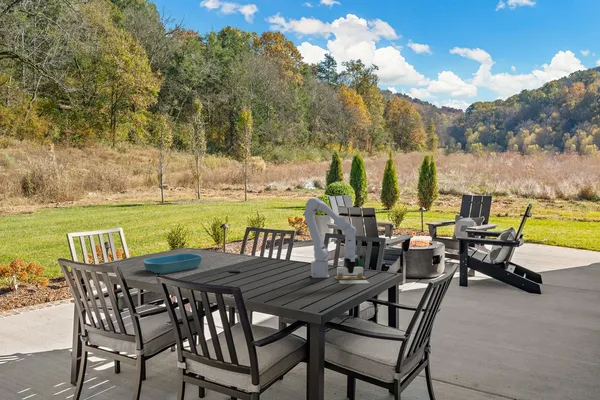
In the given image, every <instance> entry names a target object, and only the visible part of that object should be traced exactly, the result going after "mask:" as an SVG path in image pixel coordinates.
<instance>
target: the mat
mask: <svg viewBox="0 0 600 400" xmlns="http://www.w3.org/2000/svg"><path fill="white" fill-rule="evenodd" d="M338 282H339V284H340V285H362V284H363V285H365V284H366V285H369V284H370V282H369V281H368V280H367V279H342V280H338Z"/></svg>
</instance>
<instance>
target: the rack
mask: <svg viewBox="0 0 600 400" xmlns="http://www.w3.org/2000/svg"><path fill="white" fill-rule="evenodd" d="M334 278H335V280H366V277H365V276H364V273H363V274H359V275H343V274H339V275H337V276H334Z"/></svg>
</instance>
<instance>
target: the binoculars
mask: <svg viewBox="0 0 600 400" xmlns="http://www.w3.org/2000/svg"><path fill="white" fill-rule="evenodd" d="M363 256H364V255H363V254H361V255H359V257H356V258H355V261H357V262H356V264H355V266H354V267H363V274H364V273H365V268H366V264H365V259H364V257H363Z"/></svg>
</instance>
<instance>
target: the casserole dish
mask: <svg viewBox="0 0 600 400" xmlns="http://www.w3.org/2000/svg"><path fill="white" fill-rule="evenodd" d="M202 259H203V255H201V254H198V253H188V252H187V253H176V254H169V255H162V256H154V257H149V258H144V259H142V263H143V265H144V268H145V269H146V271H148V272H149V271H151V272H150V273H153V272H154V273H153V274H157V273H160V275H163V274H171V273H177V272H182V271H188V270H192V269H196V268H198V267H199V266H200V264H201V262H202Z"/></svg>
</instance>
